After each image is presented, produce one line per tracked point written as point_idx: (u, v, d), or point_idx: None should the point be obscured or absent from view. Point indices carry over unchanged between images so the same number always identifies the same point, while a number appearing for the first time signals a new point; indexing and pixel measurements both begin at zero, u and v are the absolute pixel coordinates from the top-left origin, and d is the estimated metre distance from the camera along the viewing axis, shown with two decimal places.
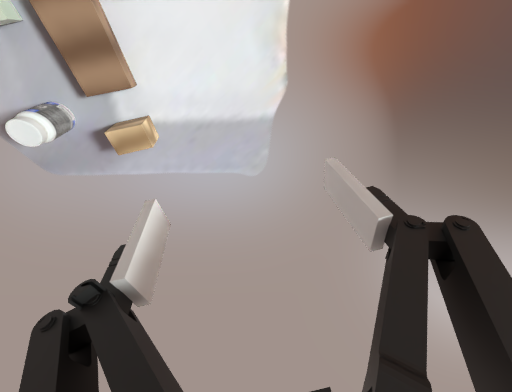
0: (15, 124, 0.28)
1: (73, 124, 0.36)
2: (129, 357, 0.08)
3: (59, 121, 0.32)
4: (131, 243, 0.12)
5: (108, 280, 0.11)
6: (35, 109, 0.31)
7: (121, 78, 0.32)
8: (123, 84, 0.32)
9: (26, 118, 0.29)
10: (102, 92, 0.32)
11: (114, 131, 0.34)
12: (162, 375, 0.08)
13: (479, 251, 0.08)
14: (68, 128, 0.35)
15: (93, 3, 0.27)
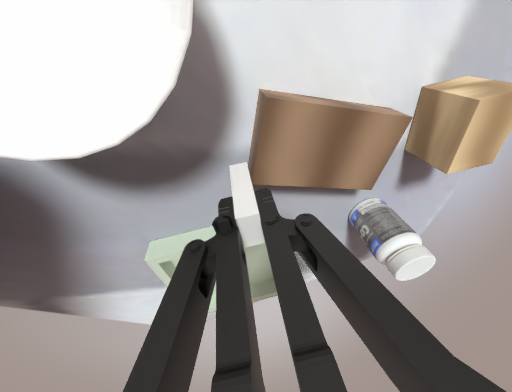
0: (402, 272, 0.20)
1: (385, 203, 0.25)
2: (234, 295, 0.09)
3: (393, 222, 0.22)
4: (237, 194, 0.14)
5: None
6: (373, 240, 0.22)
7: (391, 125, 0.17)
8: (399, 128, 0.17)
9: (396, 259, 0.20)
10: (382, 167, 0.19)
11: (455, 157, 0.17)
12: (251, 328, 0.08)
13: (324, 239, 0.10)
14: None
15: (295, 99, 0.15)
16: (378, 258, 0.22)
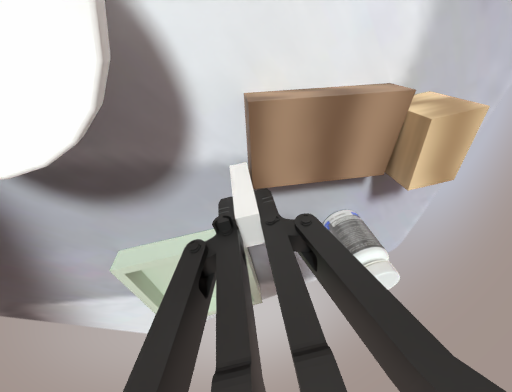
0: None
1: (356, 215, 0.25)
2: (234, 295, 0.09)
3: (361, 235, 0.22)
4: (237, 194, 0.14)
5: None
6: None
7: (392, 103, 0.15)
8: (402, 104, 0.15)
9: None
10: (391, 149, 0.18)
11: (414, 174, 0.17)
12: (251, 328, 0.08)
13: (324, 239, 0.10)
14: (364, 224, 0.24)
15: (279, 98, 0.14)
16: None
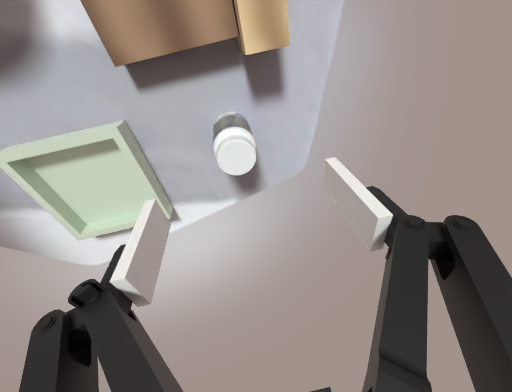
0: (224, 162, 0.21)
1: (240, 115, 0.26)
2: (129, 357, 0.08)
3: (230, 122, 0.23)
4: (131, 243, 0.12)
5: (108, 280, 0.11)
6: (213, 141, 0.23)
7: None
8: None
9: (217, 148, 0.21)
10: (230, 1, 0.18)
11: (243, 32, 0.18)
12: (162, 375, 0.08)
13: (479, 251, 0.08)
14: (243, 120, 0.25)
15: None
16: (216, 157, 0.23)
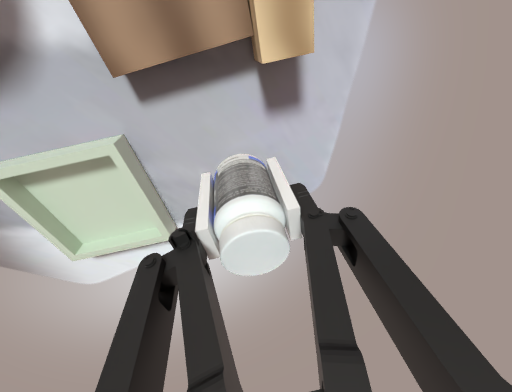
0: (233, 261, 0.12)
1: (257, 160, 0.17)
2: (200, 307, 0.09)
3: (242, 181, 0.14)
4: (202, 204, 0.14)
5: None
6: (214, 211, 0.14)
7: None
8: None
9: (221, 237, 0.12)
10: None
11: (260, 37, 0.15)
12: (221, 336, 0.08)
13: (368, 234, 0.10)
14: (262, 171, 0.15)
15: None
16: (218, 239, 0.14)
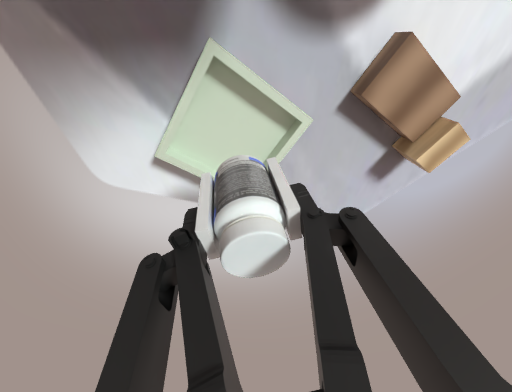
0: (233, 263, 0.12)
1: (257, 161, 0.16)
2: (200, 307, 0.09)
3: (242, 182, 0.14)
4: (202, 204, 0.14)
5: None
6: (214, 212, 0.14)
7: (449, 96, 0.26)
8: (451, 100, 0.27)
9: (221, 239, 0.12)
10: (428, 126, 0.29)
11: (426, 151, 0.28)
12: (221, 336, 0.08)
13: (368, 234, 0.10)
14: (263, 172, 0.15)
15: (420, 45, 0.23)
16: None
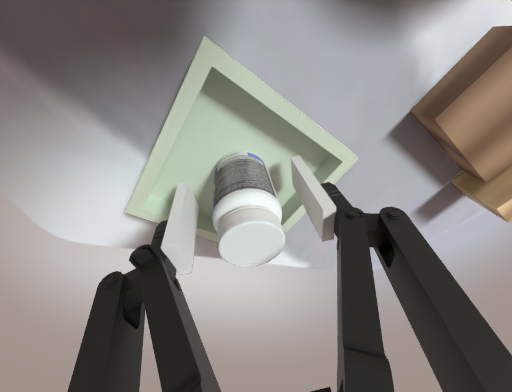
0: (230, 252, 0.12)
1: (255, 157, 0.17)
2: (171, 323, 0.08)
3: (240, 176, 0.14)
4: (173, 217, 0.13)
5: (155, 249, 0.12)
6: (213, 204, 0.15)
7: None
8: None
9: (219, 229, 0.12)
10: None
11: None
12: (196, 348, 0.08)
13: (410, 237, 0.09)
14: (260, 167, 0.16)
15: None
16: (217, 232, 0.14)
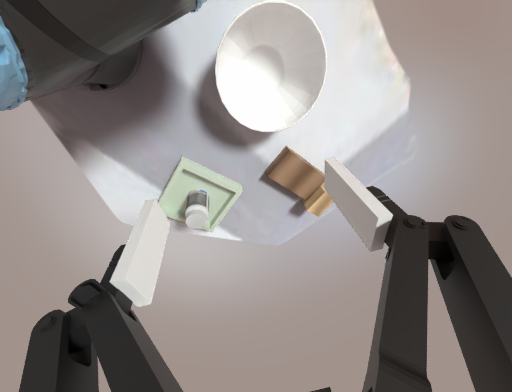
0: (189, 223, 0.41)
1: (202, 191, 0.46)
2: (129, 357, 0.08)
3: (194, 199, 0.43)
4: (131, 243, 0.12)
5: (108, 280, 0.11)
6: None
7: (320, 178, 0.47)
8: (322, 180, 0.47)
9: (186, 216, 0.41)
10: (312, 192, 0.49)
11: (311, 206, 0.48)
12: (162, 375, 0.08)
13: (479, 251, 0.08)
14: (203, 195, 0.44)
15: (296, 155, 0.43)
16: None
